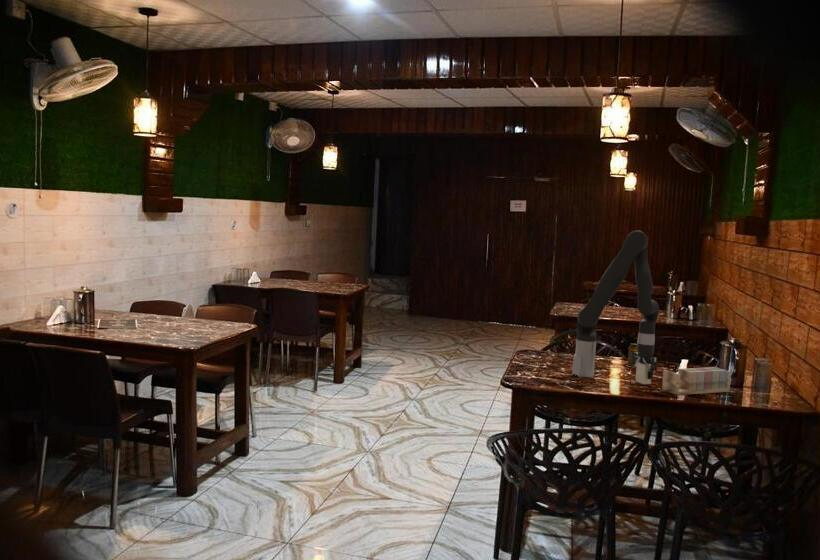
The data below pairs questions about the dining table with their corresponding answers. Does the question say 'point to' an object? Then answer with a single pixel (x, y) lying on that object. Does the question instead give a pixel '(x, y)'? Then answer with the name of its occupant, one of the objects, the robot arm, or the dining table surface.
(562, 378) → the dining table surface
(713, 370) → the pastel slab stack
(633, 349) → the condiment
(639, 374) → the cream block
